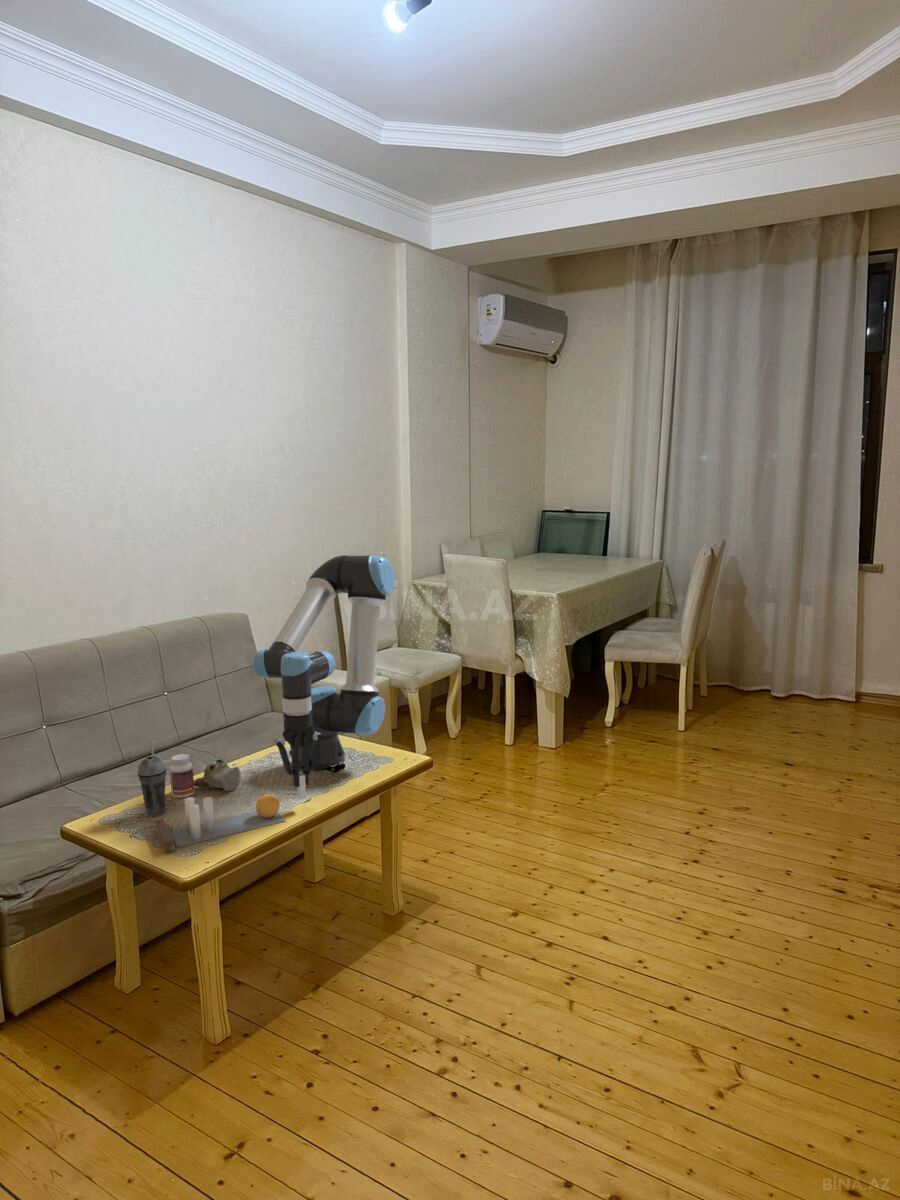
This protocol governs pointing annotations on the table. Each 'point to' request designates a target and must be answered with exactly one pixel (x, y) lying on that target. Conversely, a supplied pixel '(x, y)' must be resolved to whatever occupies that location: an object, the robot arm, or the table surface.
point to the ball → (267, 806)
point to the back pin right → (188, 802)
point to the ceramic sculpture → (219, 776)
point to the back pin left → (195, 821)
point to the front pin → (209, 814)
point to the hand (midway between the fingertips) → (301, 797)
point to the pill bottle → (181, 776)
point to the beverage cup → (153, 784)
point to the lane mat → (226, 827)
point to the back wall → (164, 836)
